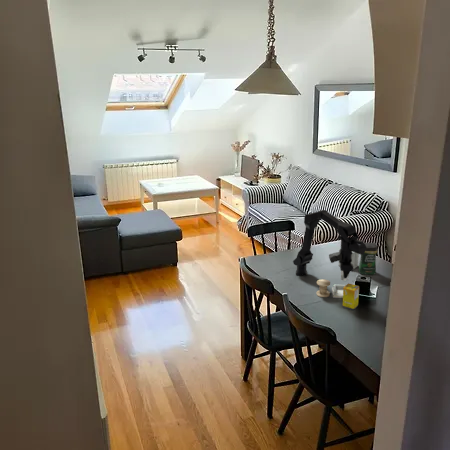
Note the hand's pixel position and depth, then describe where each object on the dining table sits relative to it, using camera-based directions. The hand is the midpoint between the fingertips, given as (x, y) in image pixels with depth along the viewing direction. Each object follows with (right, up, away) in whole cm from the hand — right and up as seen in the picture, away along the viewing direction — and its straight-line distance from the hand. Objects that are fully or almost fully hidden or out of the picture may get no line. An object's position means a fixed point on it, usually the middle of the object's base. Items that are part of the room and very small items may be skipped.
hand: (344, 276), depth 225 cm
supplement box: (0, -14, -11) cm, 17 cm away
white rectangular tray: (0, -9, +3) cm, 10 cm away
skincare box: (+13, +2, +38) cm, 41 cm away
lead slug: (0, -1, 0) cm, 2 cm away
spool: (-11, -10, +3) cm, 15 cm away
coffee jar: (+21, -1, +27) cm, 34 cm away
